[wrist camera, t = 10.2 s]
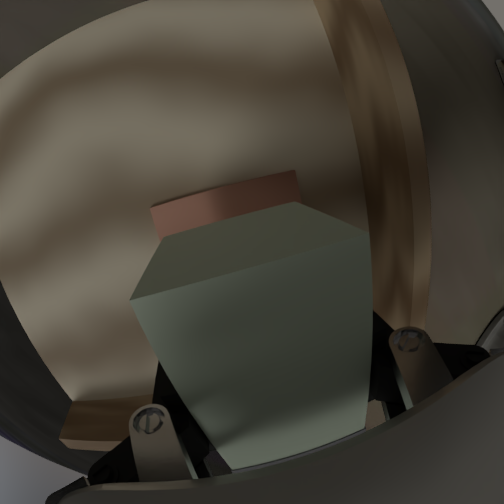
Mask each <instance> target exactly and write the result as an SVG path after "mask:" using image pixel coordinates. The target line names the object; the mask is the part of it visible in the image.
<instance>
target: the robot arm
mask: <svg viewBox="0 0 504 504" xmlns="http://www.w3.org/2000/svg"><path fill="white" fill-rule="evenodd" d="M374 399H376V400H378V401H381V404H382V407H383V411H384V415H385V419H386V422H384V423H383V424H381V425H379V426H377V427H374V428H372V429H370V430H368V431H366V432H364V433H362V434H360V435H357V436H355V437H353V438H350V439H348V440H346V441H343V442H341V443H338V444H336V445H333V446H331V447H328V448H325V449H323V450H320V451H317V452H314V453H311V454H308V455H305V456H302V457H299V458H296V459H293V460H289V461H286V462H282V463H279V464H275V465H271V466H267V467H263V468H259V469H254V470H250V471H245V472H240V473H234V474H229V475H223V476H216V477H214V475H213V473H212V471H211V469H210V467H209V465H208V463H207V461H206V459H205V457H206V456H207V455H208V454H209V451H213V450H216V448H215V447H214V446H213V444H212V443H211V442H210V440H209V439H208V437H207V436H206V435H205V433H204V432H203V430H202V429H201V428H200V426H199V425H198V423H197V422H196V420H195V419H194V417H193V416H192V414H191V413H190V411H189V410H188V408H187V407H186V405H185V404H184V402H183V401H182V399H181V397H180V396H179V394H178V392H177V391H176V389H175V388H174V386H173V384H172V383H171V381H170V379H169V377H168V376H167V374H166V372H165V371H164V369H163V367H162V365H161V363H160V362H159V361H158V366H157V372H156V378H155V385H154V391H153V398H152V404H149V405H145V406H143V407H141V408H139V409H138V410H136V411H135V412H134V413H133V415H132V416H131V418H130V420H129V432H130V435H129V436H128V437H127V438H126V439H124V440H123V441H122V442H121V443H120V444H118V445H117V446H116V447H115V448H113V449H112V450H111V451H110V452H108V453H107V454H106V455H105V456H103V457H102V458H101V459H99V460H98V461H97V462H96V463H94V464H93V465H92V467H91V468H90V470H89V473H88V478H85V477H84V476H83V477H81V478H79V479H78V480H76V481H74V482H72V483H71V484H69V485H67V486H65V487H64V488H62V489H60V490H58V491H56V492H54V493H52V494H51V495H50V496H48V498H47V500H46V502H45V504H504V310H503V311H501V312H500V313H499V314H498V315H497V316H496V317H495V319H494V320H493V321H492V322H491V324H490V325H489V326H488V328H487V329H486V331H485V332H484V334H483V335H482V337H481V338H480V340H479V341H478V343H477V345H463V344H446V343H433V342H432V340H431V339H430V337H429V336H428V334H427V333H426V332H425V331H424V330H422V329H420V328H417V327H410V326H408V327H402V328H399V329H397V330H394V329H393V328H392V327H391V326H390V325H388V324H387V323H386V322H385V321H384V320H383V319H382V318H381V317H380V316H379V315H378V314H377V313H376V312H375V311H374V310H373V331H372V357H371V372H370V384H369V395H368V402H370V401H372V400H374Z"/></svg>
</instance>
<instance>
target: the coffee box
mask: <svg viewBox="0 0 504 504" xmlns="http://www.w3.org/2000/svg"><path fill="white" fill-rule="evenodd" d="M496 64H497V67H498V70H499V72H500V75H501V78H502V81H503V84H504V59H501V60H496Z"/></svg>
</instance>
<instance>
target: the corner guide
mask: <svg viewBox="0 0 504 504" xmlns="http://www.w3.org/2000/svg"><path fill="white" fill-rule="evenodd" d="M290 202H298V203H300V204H303V205H305V206H308V207H310V208H313V209H315V210H318V211H320V212H322V213H325V214H327V215H329V216H332V217H334V218H336V219H339V220H341V221H343V222H346V223H348V224H350V225H352V226H355V227H357V228H359V229H361V230H364V231H366V232H368V233H369V237H370V249H371V265H372V292H373V310H374V311H375V312H376V313H377V314H378V315H379V316H380V317H381V318H382V319H383V320H384V321H385V322H386V323H387V324H388V325H390V326H391V327H392V328H393V329H394V330H397V329H399V328H402V327H408V326H410V327H417V328H420V329H422V330H424V328H425V321H426V314H427V306H428V296H429V285H430V271H431V240H432V233H431V201H430V187H429V176H428V167H427V159H426V152H425V145H424V139H423V133H422V128H421V123H420V118H419V113H418V108H417V104H416V100H415V96H414V92H413V88H412V84H411V81H410V77H409V74H408V71H407V67H406V64H405V61H404V58H403V55H402V52H401V49H400V47H399V44H398V41H397V39H396V36H395V33H394V31H393V28H392V26H391V24H390V21H389V19H388V17H387V14H386V12H385V10H384V8H383V6H382V4H381V1H380V0H149V1H145V2H142V3H139V4H136V5H133V6H130V7H127V8H125V9H122V10H119V11H117V12H114V13H112V14H109V15H107V16H104V17H102V18H100V19H97V20H95V21H93V22H91V23H89V24H86V25H84V26H82V27H80V28H78V29H76V30H74V31H72V32H70V33H69V34H67V35H65V36H63V37H61V38H59V39H58V40H56V41H54V42H53V43H51V44H49V45H48V46H46V47H44V48H43V49H41V50H40V51H38V52H37V53H35V54H33V55H32V56H30V57H29V58H28V59H26V60H25V61H23V62H22V63H21V64H19V65H18V66H16V67H15V68H14V69H12V70H11V71H10V72H9V73H7V74H6V75H5V76H3V77H2V78H1V79H0V280H1V282H2V285H3V287H4V289H5V292H6V294H7V296H8V298H9V300H10V303H11V305H12V307H13V309H14V311H15V313H16V315H17V317H18V319H19V321H20V322H21V324H22V326H23V328H24V330H25V332H26V333H27V335H28V337H29V339H30V340H31V342H32V344H33V345H34V347H35V349H36V350H37V352H38V353H39V355H40V356H41V358H42V360H43V361H44V363H45V364H46V366H47V367H48V368H49V370H50V371H51V373H52V374H53V376H54V377H55V378H56V380H57V381H58V383H59V384H60V385H61V387H62V388H63V389H64V390H65V392H66V393H67V394H68V396H69V397H70V398H71V399H72V401H73V402H72V405H71V407H70V410H69V412H68V415H67V417H66V420H65V423H64V425H63V428H62V431H61V433H60V436H59V439H60V440H61V441H62V442H63V443H64V444H65V445H66V446H67V447H68V448H72V449H83V450H99V451H111V450H112V449H113V448H115V447H116V446H117V445H118V444H120V443H121V442H122V441H123V440H124V439H126V438H127V437H128V436H129V435H130V432H129V420H130V418H131V416H132V415H133V413H134V412H135V411H136V410H138V409H139V408H141V407H143V406H145V405H149V404H152V398H153V391H154V385H155V378H156V372H157V366H158V361H159V360H158V358H157V356H156V354H155V352H154V351H153V349H152V347H151V345H150V343H149V341H148V339H147V337H146V335H145V333H144V331H143V329H142V327H141V325H140V323H139V321H138V319H137V317H136V314H135V312H134V310H133V308H132V306H131V304H130V301H129V300H130V298H131V296H132V294H133V292H134V290H135V288H136V286H137V284H138V282H139V280H140V279H141V277H142V275H143V273H144V271H145V269H146V267H147V266H148V264H149V262H150V260H151V258H152V256H153V255H154V253H155V251H156V249H157V248H158V246H159V244H160V242H161V241H162V239H163V237H165V236H168V235H172V234H175V233H179V232H182V231H185V230H189V229H192V228H196V227H199V226H203V225H207V224H210V223H214V222H217V221H221V220H225V219H228V218H232V217H236V216H240V215H243V214H247V213H251V212H255V211H259V210H263V209H266V208H270V207H274V206H278V205H282V204H286V203H290Z"/></svg>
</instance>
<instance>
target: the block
mask: <svg viewBox="0 0 504 504" xmlns="http://www.w3.org/2000/svg"><path fill="white" fill-rule="evenodd" d="M129 301H130V304H131V306H132V308H133V310H134V312H135V314H136V317H137V319H138V321H139V323H140V325H141V327H142V329H143V331H144V333H145V335H146V337H147V339H148V341H149V343H150V345H151V347H152V349H153V351H154V352H155V354H156V356H157V358H158V360H159V362H160V363H161V365H162V367H163V369H164V371H165V372H166V374H167V376H168V377H169V379H170V381H171V383H172V384H173V386H174V388H175V389H176V391H177V392H178V394H179V396H180V397H181V399H182V401H183V402H184V404H185V405H186V407H187V408H188V410H189V411H190V413H191V414H192V416H193V417H194V419H195V420H196V422H197V423H198V425H199V426H200V428H201V429H202V430H203V432H204V433H205V435H206V436H207V437H208V439H209V440H210V442H211V443H212V444H213V446H214V447H215V448H216V450H217V451H218V452H219V454H220V455H221V456H222V457H223V459H224V460H225V461H226V462H227V464H228V465H229V466H230V467H231V471H232V473H233V474H234V473H240V472H245V471H250V470H254V469H259V468H263V467H267V466H271V465H275V464H279V463H282V462H286V461H289V460H293V459H296V458H299V457H302V456H305V455H308V454H311V453H314V452H317V451H320V450H323V449H325V448H328V447H331V446H333V445H336V444H338V443H341V442H343V441H346V440H348V439H350V438H353V437H355V436H357V435H360V434H362V433H364V432H365V431H366V428H365V419H366V412H367V404H368V395H369V384H370V372H371V357H372V331H373V292H372V265H371V249H370V237H369V233H368V232H366V231H364V230H361V229H359V228H357V227H355V226H352V225H350V224H348V223H346V222H343V221H341V220H339V219H336V218H334V217H332V216H329V215H327V214H325V213H322V212H320V211H318V210H315V209H313V208H310V207H308V206H305V205H303V204H300V203H298V202H290V203H286V204H282V205H278V206H274V207H270V208H266V209H263V210H259V211H255V212H251V213H247V214H243V215H240V216H236V217H232V218H228V219H225V220H221V221H217V222H214V223H210V224H207V225H203V226H199V227H196V228H192V229H189V230H185V231H182V232H179V233H175V234H172V235H168V236H165V237H163V239H162V241H161V242H160V244H159V246H158V248H157V249H156V251H155V253H154V255H153V256H152V258H151V260H150V262H149V264H148V266H147V267H146V269H145V271H144V273H143V275H142V277H141V279H140V280H139V282H138V284H137V286H136V288H135V290H134V292H133V294H132V296H131V298H130V300H129Z"/></svg>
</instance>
